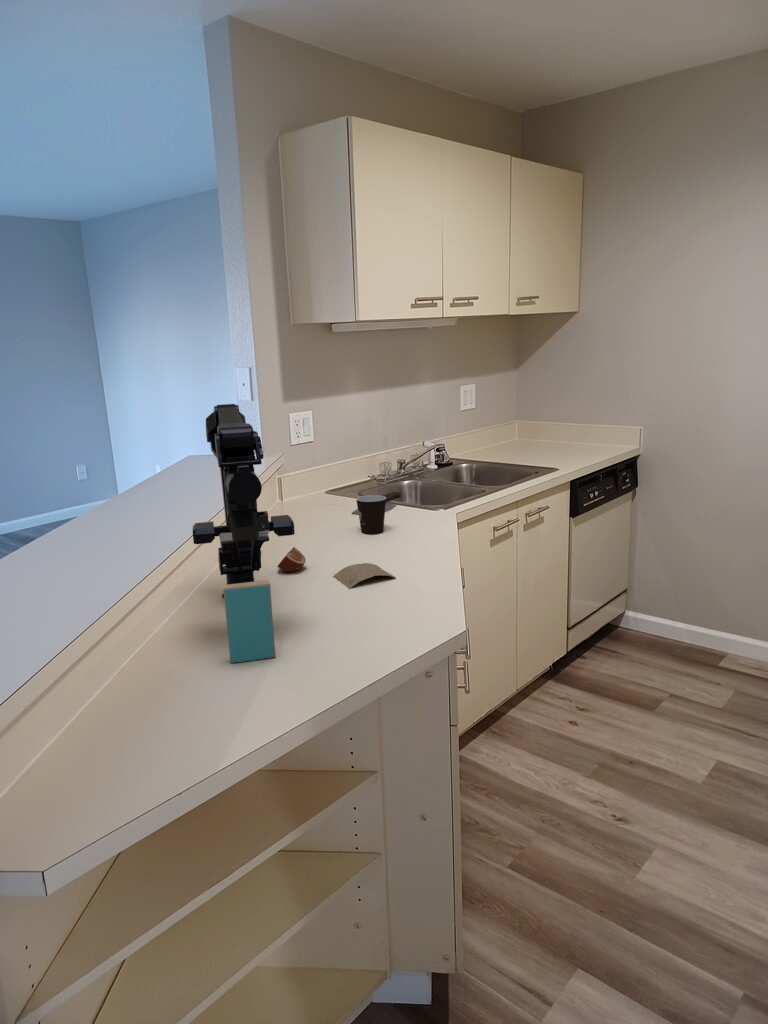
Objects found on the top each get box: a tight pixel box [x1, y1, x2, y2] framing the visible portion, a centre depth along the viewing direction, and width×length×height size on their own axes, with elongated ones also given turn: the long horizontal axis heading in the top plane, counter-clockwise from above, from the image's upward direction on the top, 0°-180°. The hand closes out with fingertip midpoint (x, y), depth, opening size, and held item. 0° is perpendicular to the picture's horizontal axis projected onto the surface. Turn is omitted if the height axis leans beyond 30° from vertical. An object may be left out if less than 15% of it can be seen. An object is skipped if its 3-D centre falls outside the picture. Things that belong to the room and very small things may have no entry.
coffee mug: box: [355, 494, 387, 536], centre depth 211 cm, size 12×9×10 cm
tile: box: [222, 579, 276, 664], centre depth 128 cm, size 2×8×14 cm, turn 104°
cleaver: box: [351, 491, 402, 516], centre depth 243 cm, size 30×10×2 cm, turn 155°
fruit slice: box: [277, 546, 306, 572], centre depth 178 cm, size 8×7×5 cm
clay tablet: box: [332, 562, 397, 589], centre depth 171 cm, size 14×10×3 cm
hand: (247, 572), depth 140 cm, fingers closed
